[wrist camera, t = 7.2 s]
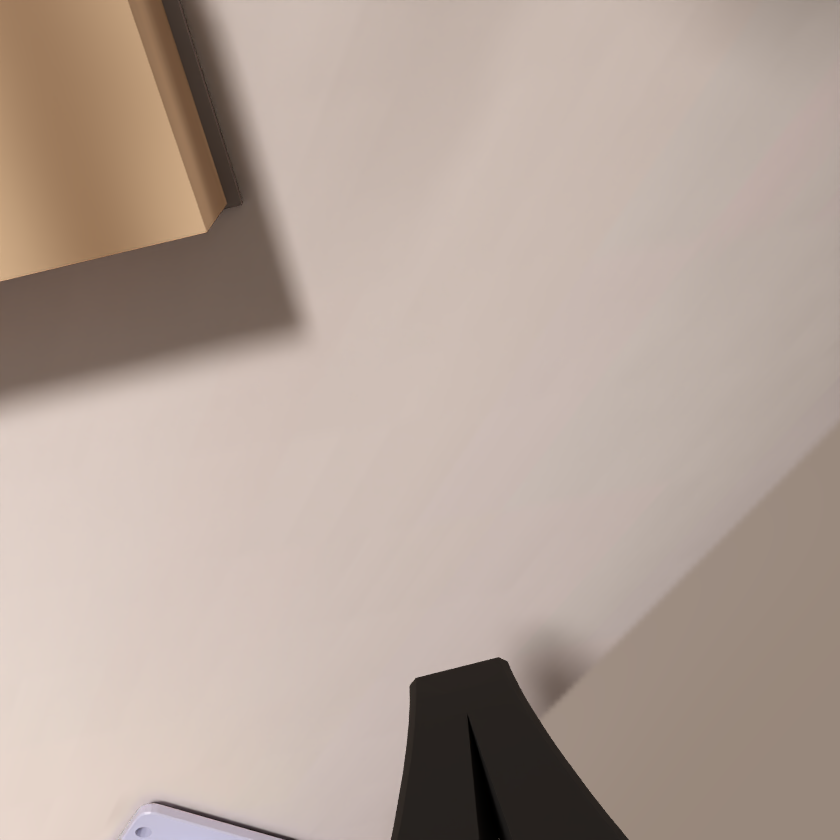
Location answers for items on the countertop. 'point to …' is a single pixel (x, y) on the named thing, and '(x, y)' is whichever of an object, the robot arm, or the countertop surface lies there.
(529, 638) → the countertop surface
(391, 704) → the countertop surface
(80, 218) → the body
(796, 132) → the countertop surface
